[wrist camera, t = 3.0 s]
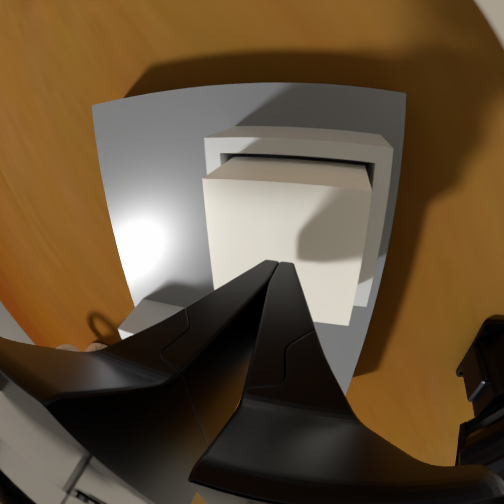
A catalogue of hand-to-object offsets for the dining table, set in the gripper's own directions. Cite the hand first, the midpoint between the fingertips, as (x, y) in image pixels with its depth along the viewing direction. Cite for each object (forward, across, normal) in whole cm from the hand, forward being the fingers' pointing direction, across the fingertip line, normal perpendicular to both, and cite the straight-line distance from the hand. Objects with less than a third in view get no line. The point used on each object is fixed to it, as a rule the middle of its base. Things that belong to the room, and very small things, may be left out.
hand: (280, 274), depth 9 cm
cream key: (+4, 0, 0) cm, 4 cm away
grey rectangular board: (+10, +4, +6) cm, 12 cm away
